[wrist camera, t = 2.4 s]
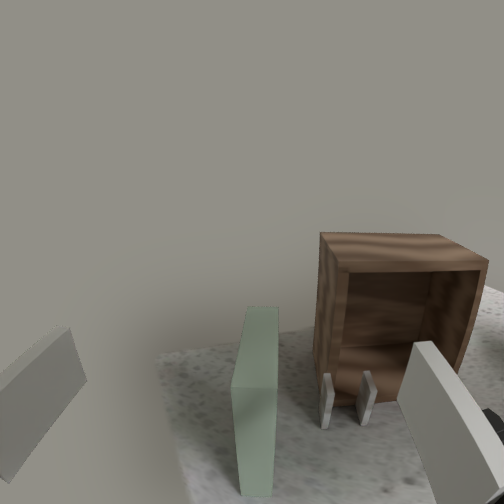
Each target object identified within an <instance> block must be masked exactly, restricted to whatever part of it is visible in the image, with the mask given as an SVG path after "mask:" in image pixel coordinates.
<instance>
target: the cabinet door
mask: <svg viewBox="0 0 504 504" xmlns="http://www.w3.org/2000/svg"><path fill="white" fill-rule="evenodd" d="M230 388H231V400H232V411H233V422H234V433H235V443H236V453H237V463H238V472H239V481H240V490H241V496H250V497H272V486H273V471H274V455H275V437H276V417H277V394H278V307H248V308H247V312H246V317H245V322H244V327H243V331H242V336H241V340H240V345H239V350H238V354H237V359H236V364H235V368H234V373H233V377H232V382H231V387H230Z"/></svg>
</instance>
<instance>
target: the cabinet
mask: <svg viewBox="0 0 504 504" xmlns="http://www.w3.org/2000/svg"><path fill="white" fill-rule="evenodd" d="M488 263H489V260H487V259H486V258H484V257H482V256H480V255H478V254H476V253H475V252H473V251H471V250H469V249H467V248H465V247H463V246H461V245H459V244H457V243H455V242H453V241H451V240H449V239H447V238H445V237H443V236H441V235H437V234H401V233H400V234H399V233H342V232H336V233H335V232H320V247H319V269H318V287H317V288H318V289H317V303H316V317H315V329H314V340H313V355H314V362H315V368H316V374H317V381H318V387H319V394H320V401H319V407H318V408H319V415H320V423H321V429H328V425H329V421H330V416H331V412H332V407H337V406H351V405H355V406H356V410H357V414H358V417H359V421H360V425H361V426H366V425H367V423H368V420H369V417H370V414H371V411H372V408H373V405H374V403H381V402H389V401H396V400H397V396H398V393H399V390H400V387H401V384H402V381H403V378H404V375H405V372H406V368H407V365H408V362H409V358H410V355H411V351H412V348H413V344H414V342H424V341H432V342H433V344H434V345H435V346H436V347H437V349H438V350H439V351H440V353H441V354H442V355H443V357H444V358H445V359H446V361H447V362H448V363H449V365H450V366H451V367H452V369H453V370H454V372H455V373H456V374H457V373H458V371H459V368H460V365H461V363H462V360H463V357H464V354H465V352H466V349H467V346H468V343H469V340H470V336H471V333H472V330H473V327H474V323H475V320H476V316H477V313H478V309H479V305H480V301H481V297H482V293H483V288H484V284H485V279H486V274H487V269H488Z"/></svg>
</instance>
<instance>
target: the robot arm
mask: <svg viewBox="0 0 504 504" xmlns="http://www.w3.org/2000/svg"><path fill="white" fill-rule="evenodd" d="M86 382H87V380H86V376H85V374H84V371H83V368H82V365H81V362H80V359H79V356H78V353H77V350H76V347H75V343H74V340H73V337H72V333H71V330H70V328H68V327H63V326H56V327H55V328H53V329H52V330H51V331H49V333H47V334H46V335H45V336H43V338H41V339H40V340H39V341H37V342H36V343H35V344H34V345H33V346H32V347H30V348H29V349H28V350H27V351H26V352H24V353H23V354H22V355H21V356H20V357H19V358H18V359H16V360H15V361H14V362H13V363H12V364H11V365H10V366H8V367H7V368H6V369H5V370H4V371H3V372H2V373H1V374H0V478H2V479H3V480H4V481H6V482H7V483H10V482H11V480H12V479H13V477H14V476H15V474H16V473H17V472H18V470H19V469H20V467H21V466H22V465H23V463H24V462H25V461H26V459H27V457H28V456H29V455H30V453H31V452H32V451H33V450H34V448H35V447H36V446H37V444H38V443H39V442H40V440H41V439H42V437H43V436H44V435H45V433H46V432H47V431H48V430H49V428H50V427H51V426H52V424H53V423H54V422H55V421H56V419H57V418H58V417H59V415H60V414H61V413H62V412H63V410H64V409H65V408H66V407H67V405H68V404H69V403H70V401H71V400H72V399H73V398H74V396H75V395H76V394H77V393H78V391H79V390H80V389H81V388H82V386H83V385H84V384H85V383H86ZM397 401H398V404H399V406H400V408H401V411H402V413H403V415H404V418H405V420H406V423H407V425H408V428H409V430H410V432H411V435H412V437H413V440H414V442H415V445H416V448H417V450H418V453H419V455H420V458H421V461H422V463H423V466H424V469H425V471H426V474H427V477H428V480H429V482H430V485H431V488H432V491H433V494H434V497H435V500H436V503H437V504H504V423H503V421H502V420H501V418H500V417H499V416H498V415H497V414H495V413H494V412H493V411H491V410H490V409H489V408H488V409H485V410H481V409H480V407H479V406H478V404H477V403H476V401H475V400H474V399H473V397H472V396H471V394H470V393H469V391H468V390H467V388H466V387H465V386H464V384H463V383H462V381H461V380H460V378H459V377H458V376H457V374H456V373H455V372H454V370H453V369H452V367H451V366H450V365H449V363H448V362H447V361H446V359H445V358H444V357H443V355H442V354H441V353H440V351H439V350H438V349H437V347H436V346H435V345H434V344H433V342H432V341H424V342H414V344H413V348H412V351H411V355H410V358H409V362H408V365H407V368H406V372H405V375H404V378H403V381H402V384H401V387H400V390H399V393H398V396H397Z"/></svg>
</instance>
